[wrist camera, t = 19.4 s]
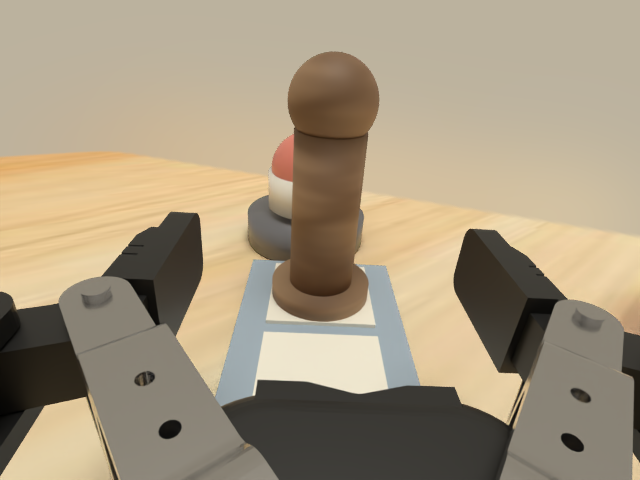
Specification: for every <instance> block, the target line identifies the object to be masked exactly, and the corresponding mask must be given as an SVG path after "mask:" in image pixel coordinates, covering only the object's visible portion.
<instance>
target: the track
mask: <svg viewBox="0 0 640 480" xmlns="http://www.w3.org/2000/svg"><path fill="white" fill-rule="evenodd" d="M283 262H285V261H273V260H253V263H252V267H251V271H250V274H249V278H248V281H247V285H246V289H245V292H244V296H243V299H242V303H241V307H240V310H239V314H238V317H237V321H236V325H235V328H234V332H233V335H232V339H231V343H230V346H229V350H228V353H227V357H226V360H225V364H224V368H223V371H222V375H221V378H220V382H219V386H218V389H217V393H216V396H215V399H216V400H217V402H218V403H219V405H220V406H223V405H225V404H228V403H230V402H233V401H235V400H239V399H242V398H245V397H250V396H255V393H256V386H257V380H281V381H307V382H311V383H315V384H319V385H323V386H327V387H331V388H335V389H339V390H343V391H347V392H351V393H356V394H364V393H369V392H374V391H380V390H385V389H390V388H396V387H401V386H407V385H409V386H420V383H419V379H418V376H417V372H416V369H415V365H414V362H413V358H412V355H411V351H410V348H409V344H408V341H407V338H406V334H405V331H404V327H403V324H402V320H401V317H400V313H399V310H398V306H397V303H396V299H395V296H394V293H393V289H392V286H391V282H390V279H389V275H388V272H387V268H386V266H378V265H357V264H355V265H357V266H358V267H359V268H361V269H362V270H363V271H364V273H365V274H366V276H367V278H368V281H369V286H368V293H367V300H366V303H365V305H364V306H363V308H362V309H361V310H360V311H359V312H357V313H356V314H354V315H352V316H350V317H348V318H345V319H342V320H337V321H329V322H318V321H310V320H305V319H301V318H298V317H295V316H293V315H291V314H289V313H287V312H286V311H284V310H283V309H281V308H280V307H279V306H278V305H277V303H276V302H275V300H274V298H273V294H272V277H273V273H274V271H275V269H276V268H277V267H278V266H279V265H280V264H282V263H283Z"/></svg>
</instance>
